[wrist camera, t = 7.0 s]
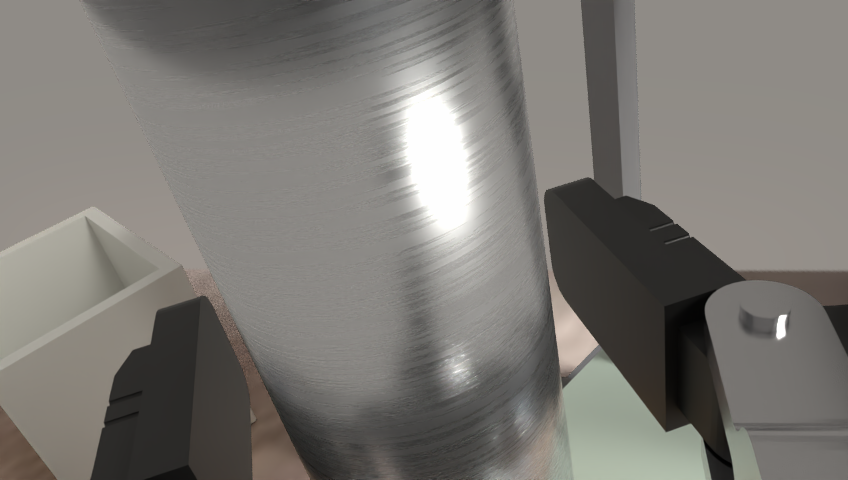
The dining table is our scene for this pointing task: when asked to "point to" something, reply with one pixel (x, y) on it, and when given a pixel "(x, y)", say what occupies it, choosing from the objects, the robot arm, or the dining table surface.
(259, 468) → the dining table surface
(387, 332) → the steel pin
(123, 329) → the bin
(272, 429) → the dining table surface
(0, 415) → the dining table surface
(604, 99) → the trolley
